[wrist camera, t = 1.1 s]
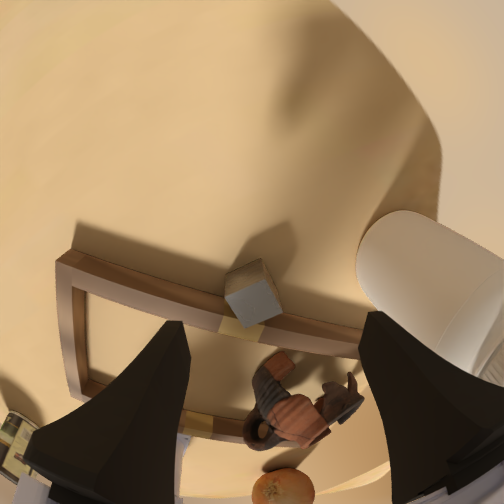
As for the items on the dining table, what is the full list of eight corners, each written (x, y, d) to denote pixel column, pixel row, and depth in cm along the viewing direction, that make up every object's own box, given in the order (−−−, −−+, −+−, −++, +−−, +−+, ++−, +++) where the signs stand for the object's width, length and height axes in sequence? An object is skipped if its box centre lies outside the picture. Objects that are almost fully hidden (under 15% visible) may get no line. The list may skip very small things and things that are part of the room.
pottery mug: (300, 322, 23) (367, 389, 17) (327, 347, 29) (375, 395, 24) (203, 407, 22) (249, 479, 16) (251, 413, 29) (290, 464, 23)
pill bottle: (386, 313, 22) (475, 442, 9) (332, 262, 20) (444, 430, 6) (443, 249, 20) (562, 343, 7) (400, 186, 18) (572, 268, 4)
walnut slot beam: (300, 432, 29) (303, 447, 27) (78, 382, 24) (70, 396, 22) (376, 332, 23) (387, 348, 21) (70, 248, 19) (55, 260, 16)
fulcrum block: (276, 288, 21) (283, 312, 18) (243, 303, 21) (244, 328, 18) (260, 258, 20) (265, 278, 17) (225, 274, 20) (224, 297, 17)
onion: (289, 454, 31) (298, 511, 22) (319, 467, 35) (330, 514, 25) (237, 471, 33) (239, 522, 24) (272, 482, 36) (278, 527, 27)
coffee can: (13, 423, 31) (-8, 468, 18) (5, 402, 28) (-22, 453, 15) (52, 447, 33) (35, 497, 20) (49, 431, 30) (27, 488, 17)
